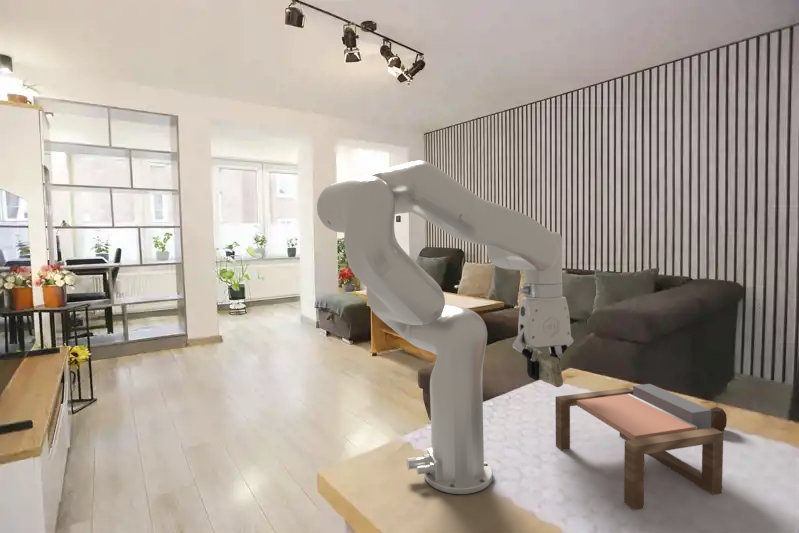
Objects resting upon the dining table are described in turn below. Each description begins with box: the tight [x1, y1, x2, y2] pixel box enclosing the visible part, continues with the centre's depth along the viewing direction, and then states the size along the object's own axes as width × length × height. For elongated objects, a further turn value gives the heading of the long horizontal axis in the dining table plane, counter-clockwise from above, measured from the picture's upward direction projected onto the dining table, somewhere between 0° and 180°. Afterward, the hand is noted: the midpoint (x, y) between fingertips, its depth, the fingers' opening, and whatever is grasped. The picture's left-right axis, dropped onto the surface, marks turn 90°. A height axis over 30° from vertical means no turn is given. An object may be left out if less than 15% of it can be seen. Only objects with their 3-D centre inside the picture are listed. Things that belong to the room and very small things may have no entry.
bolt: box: [710, 406, 728, 433], centre depth 102 cm, size 6×5×15 cm
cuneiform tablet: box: [536, 350, 564, 388], centre depth 94 cm, size 7×4×12 cm
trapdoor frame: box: [555, 387, 724, 511], centre depth 82 cm, size 17×22×10 cm
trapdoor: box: [576, 383, 711, 440], centre depth 83 cm, size 16×16×5 cm
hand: (543, 375), depth 94 cm, fingers closed on cuneiform tablet, 4 cm apart
